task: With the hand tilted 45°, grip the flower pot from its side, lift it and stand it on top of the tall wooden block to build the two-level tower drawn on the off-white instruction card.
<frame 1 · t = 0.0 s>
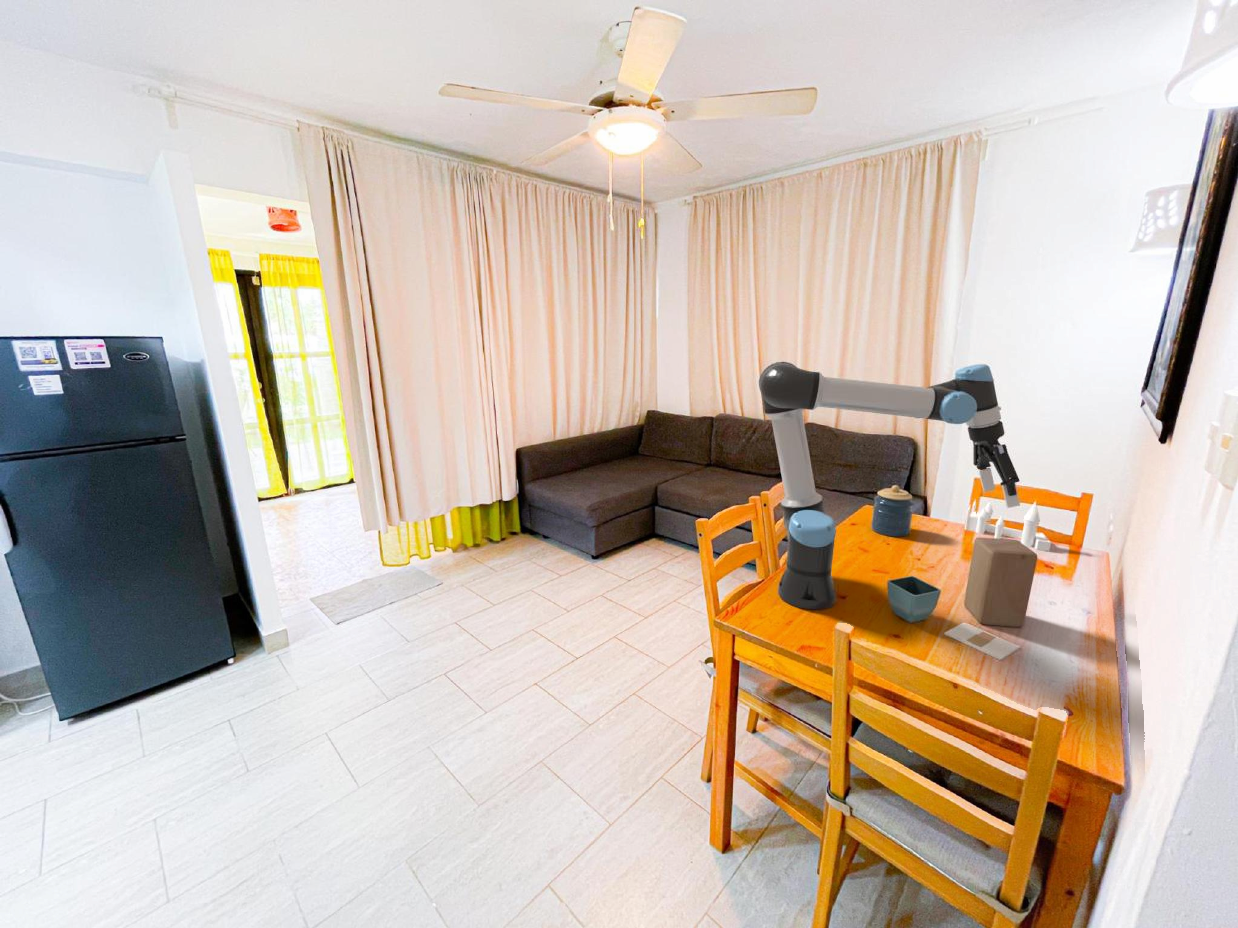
hand: (1000, 498, 136), 28 cm above the table, tool tilted 20°, fingers open, 13 cm apart
canister: (889, 531, 188), on the table
toy castle: (1006, 537, 182), on the table
instruction card: (981, 640, 120), on the table
flower pot: (909, 617, 131), on the table
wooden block: (991, 617, 130), on the table
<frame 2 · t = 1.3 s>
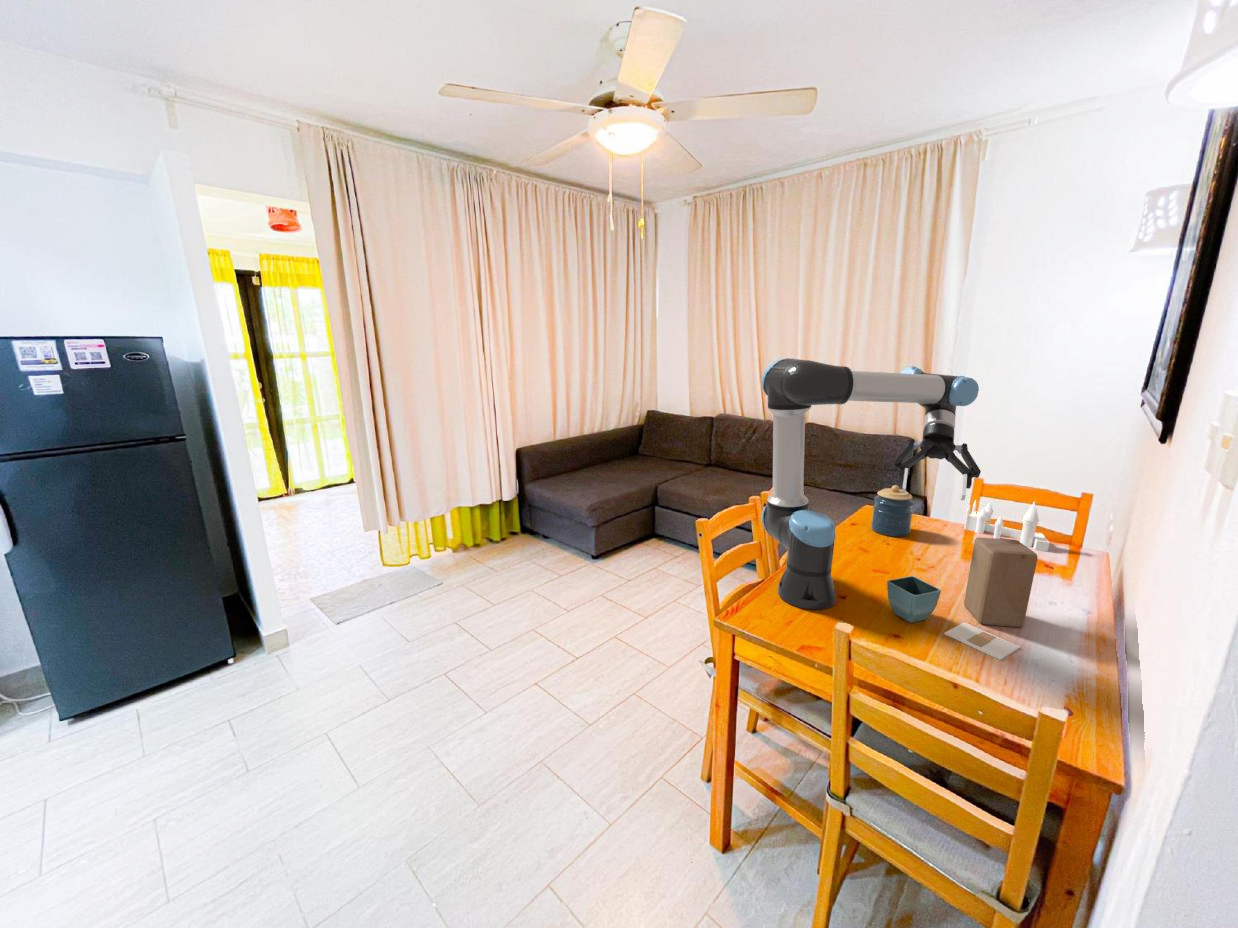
hand: (932, 494, 135), 29 cm above the table, tool tilted 45°, fingers open, 13 cm apart
nothing on the table moved.
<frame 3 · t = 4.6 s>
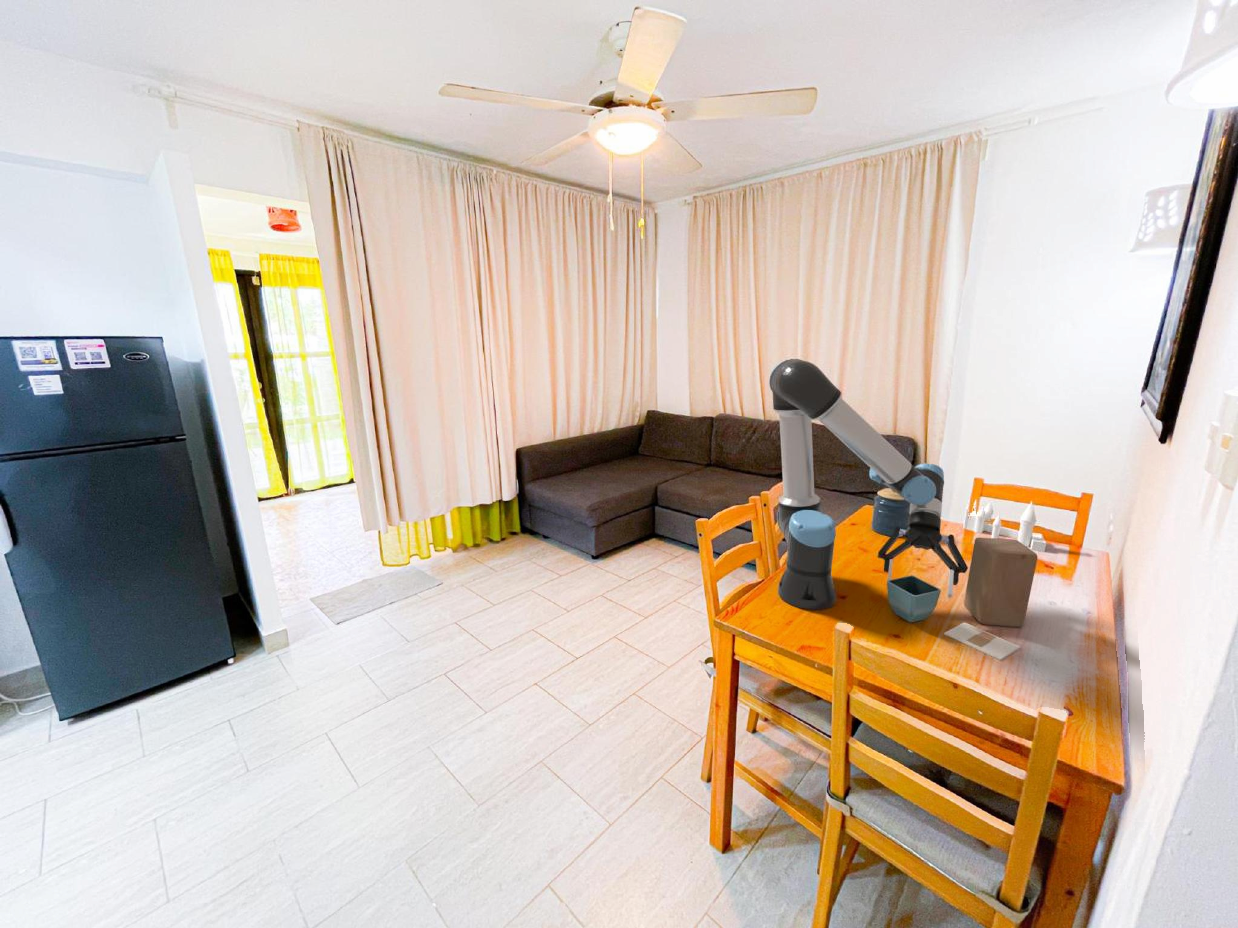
hand: (918, 590, 130), 7 cm above the table, tool tilted 45°, fingers open, 13 cm apart
flower pot: (908, 616, 131), on the table, touching gripper
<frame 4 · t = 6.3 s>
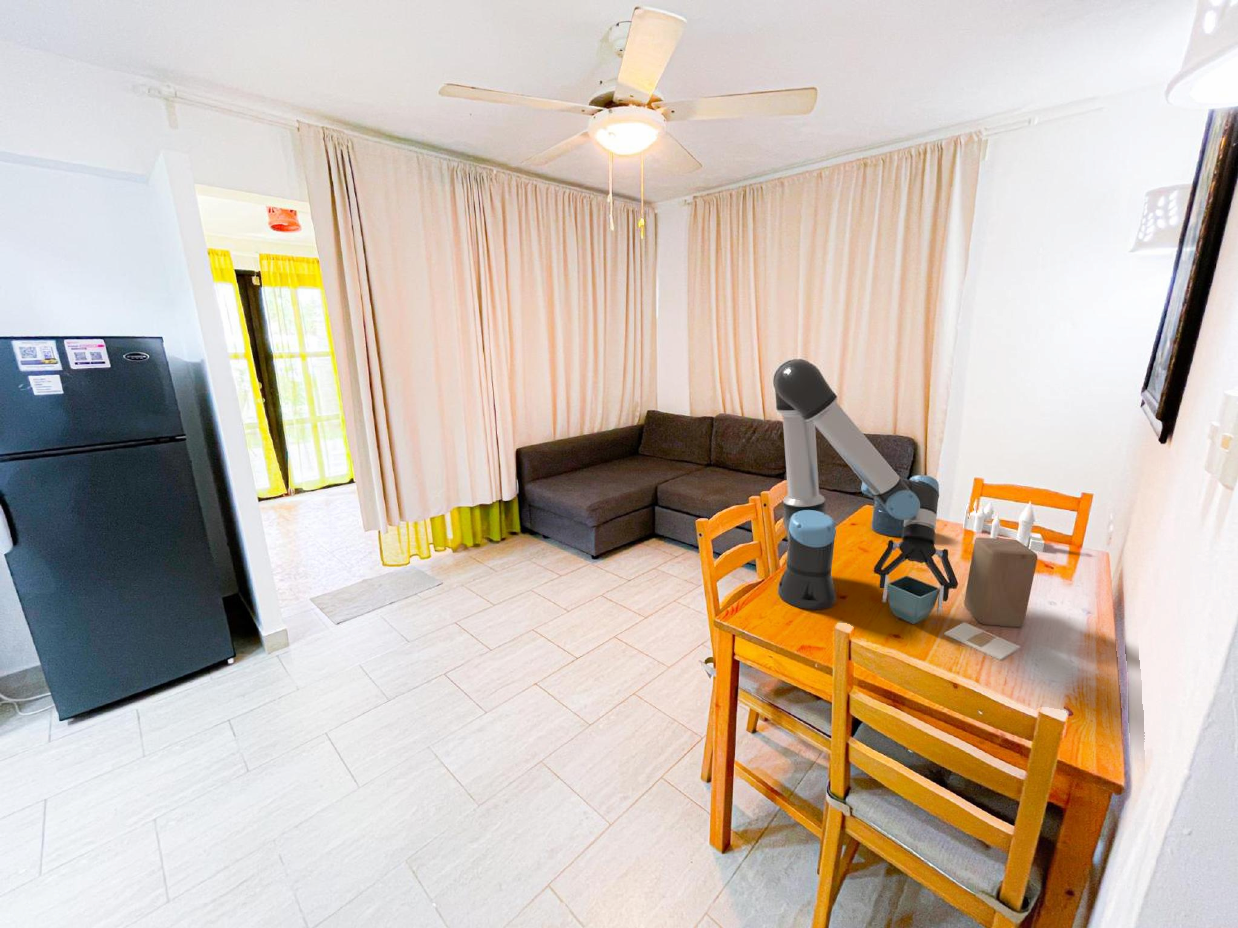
hand: (911, 606, 127), 4 cm above the table, tool tilted 45°, fingers closed on flower pot, 11 cm apart
flower pot: (908, 618, 130), on the table, touching gripper
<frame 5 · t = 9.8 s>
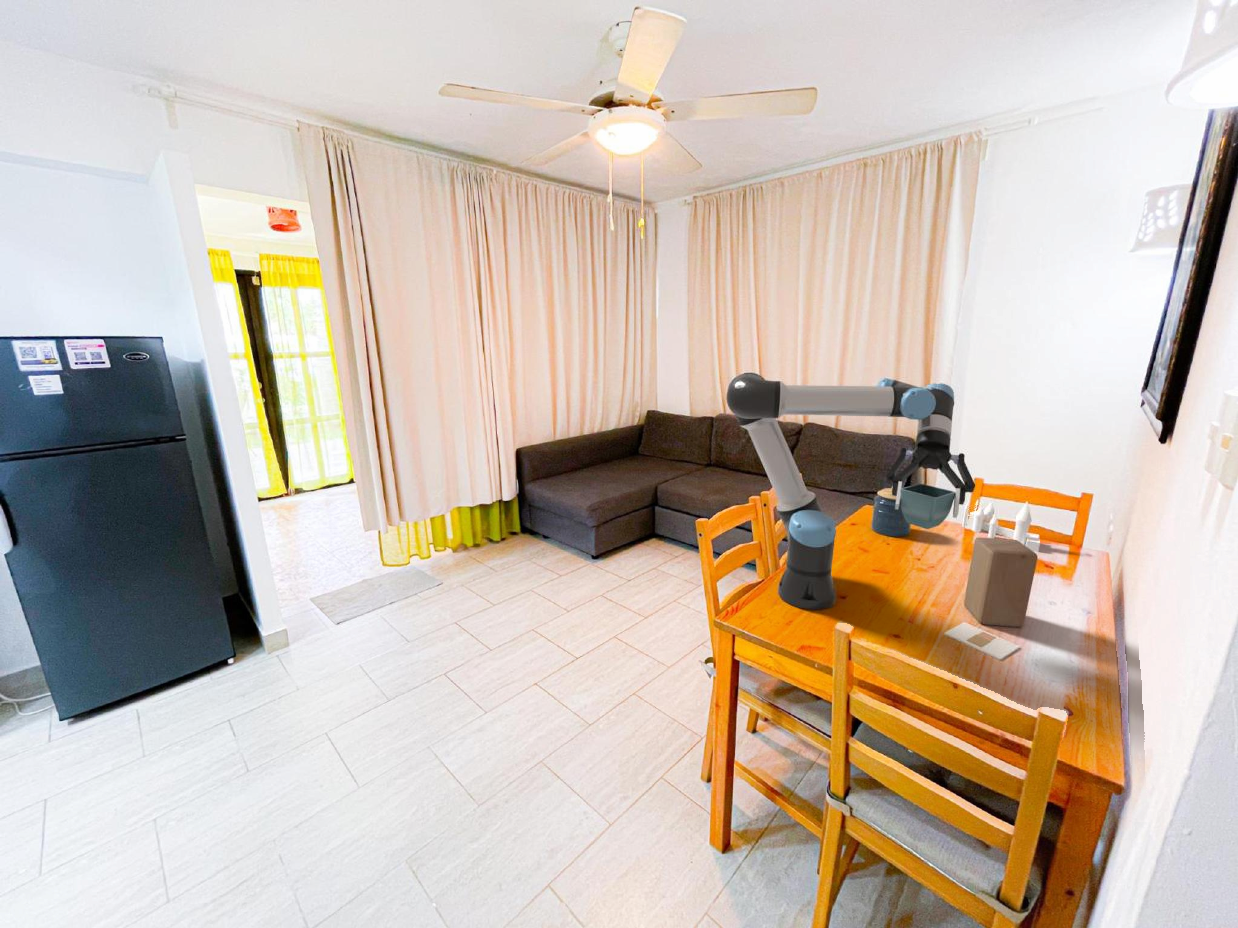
hand: (925, 510, 121), 30 cm above the table, tool tilted 45°, fingers closed on flower pot, 11 cm apart
flower pot: (922, 525, 124), point 25 cm above the table, touching gripper
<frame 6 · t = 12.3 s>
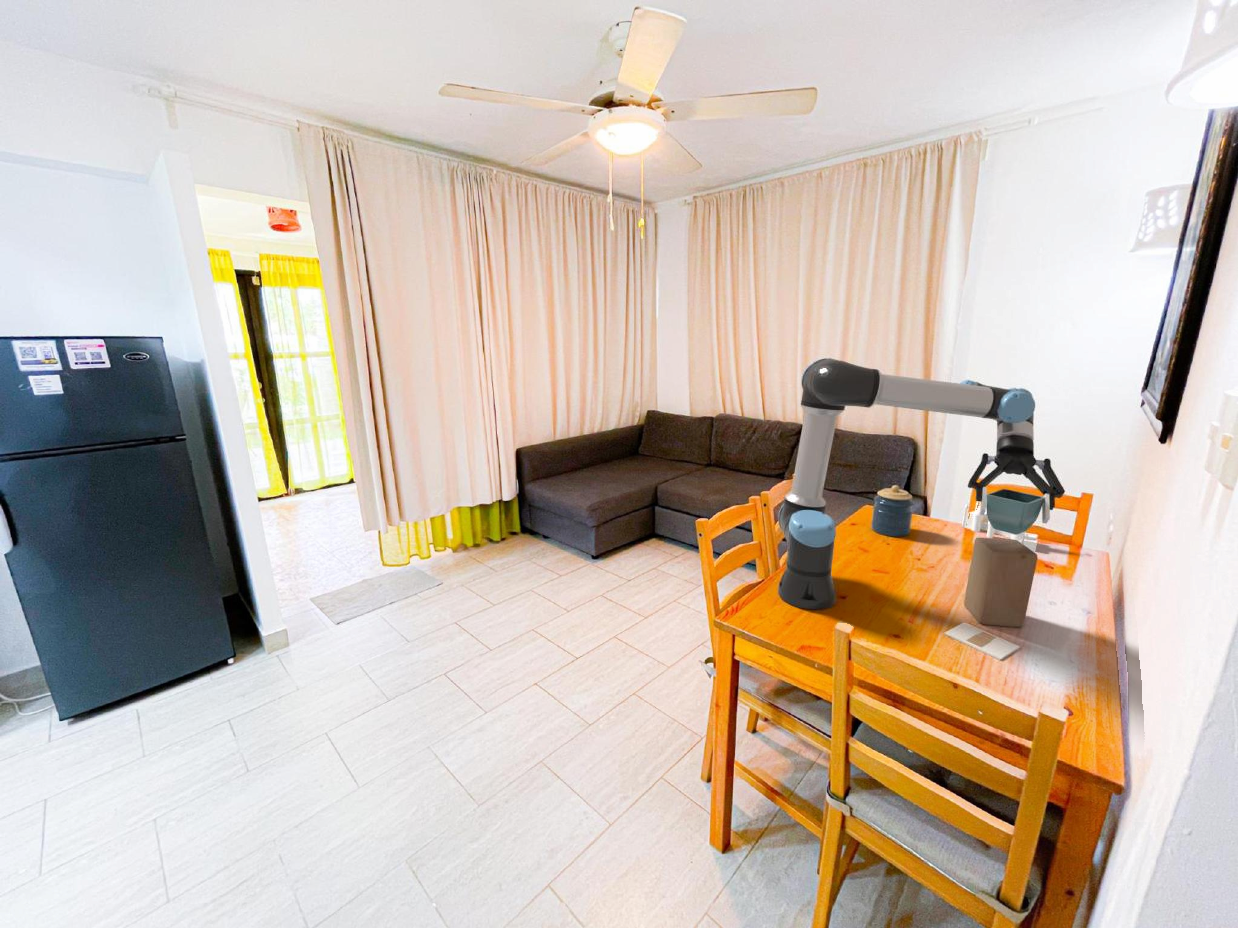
hand: (1013, 516, 121), 28 cm above the table, tool tilted 45°, fingers closed on flower pot, 11 cm apart
flower pot: (1008, 531, 124), point 24 cm above the table, touching gripper
when the fingers open (26 cm above the table, at t = 13.4 s): flower pot drops 1 cm, resting on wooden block.
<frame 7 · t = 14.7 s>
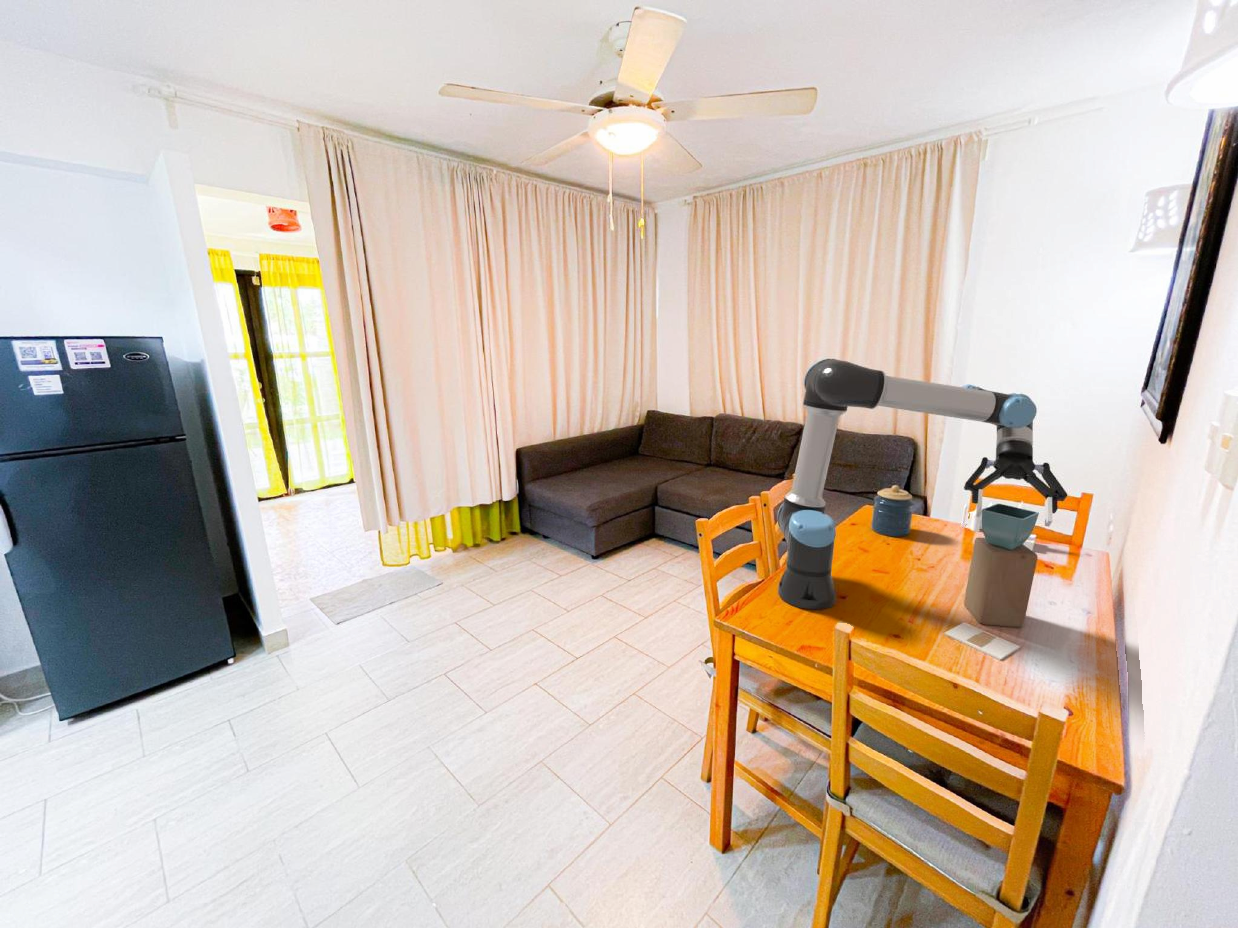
hand: (1012, 519, 122), 27 cm above the table, tool tilted 45°, fingers open, 13 cm apart
flower pot: (1003, 545, 125), point 20 cm above the table, touching gripper, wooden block
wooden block: (991, 617, 130), on the table, touching flower pot
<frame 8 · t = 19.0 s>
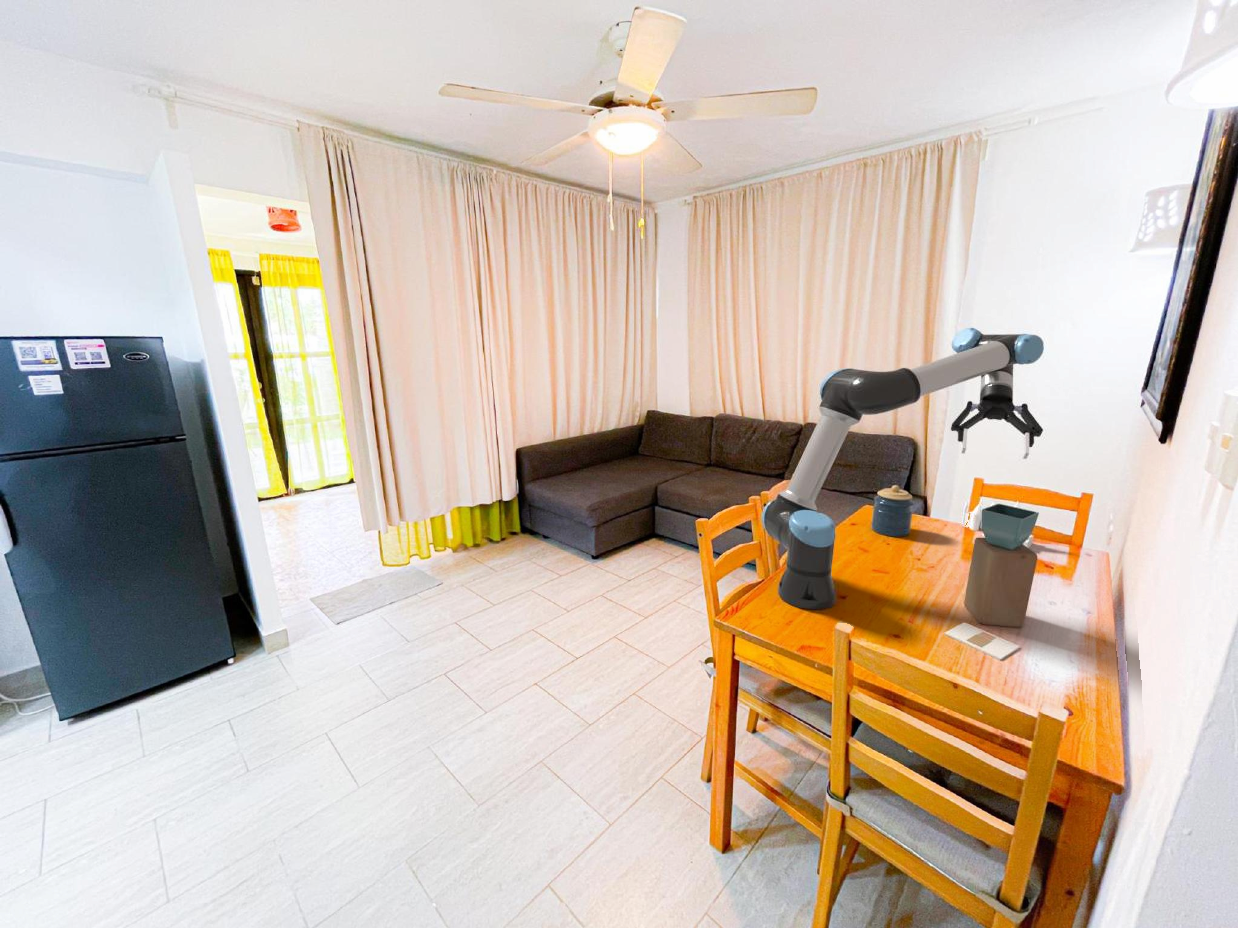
hand: (994, 453, 135), 40 cm above the table, tool tilted 45°, fingers open, 13 cm apart
flower pot: (1003, 545, 125), point 20 cm above the table, touching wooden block
at the end: flower pot 0.7 cm from the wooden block (horizontally); flower pot point 19.8 cm above the table; flower pot tilted 0° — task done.
